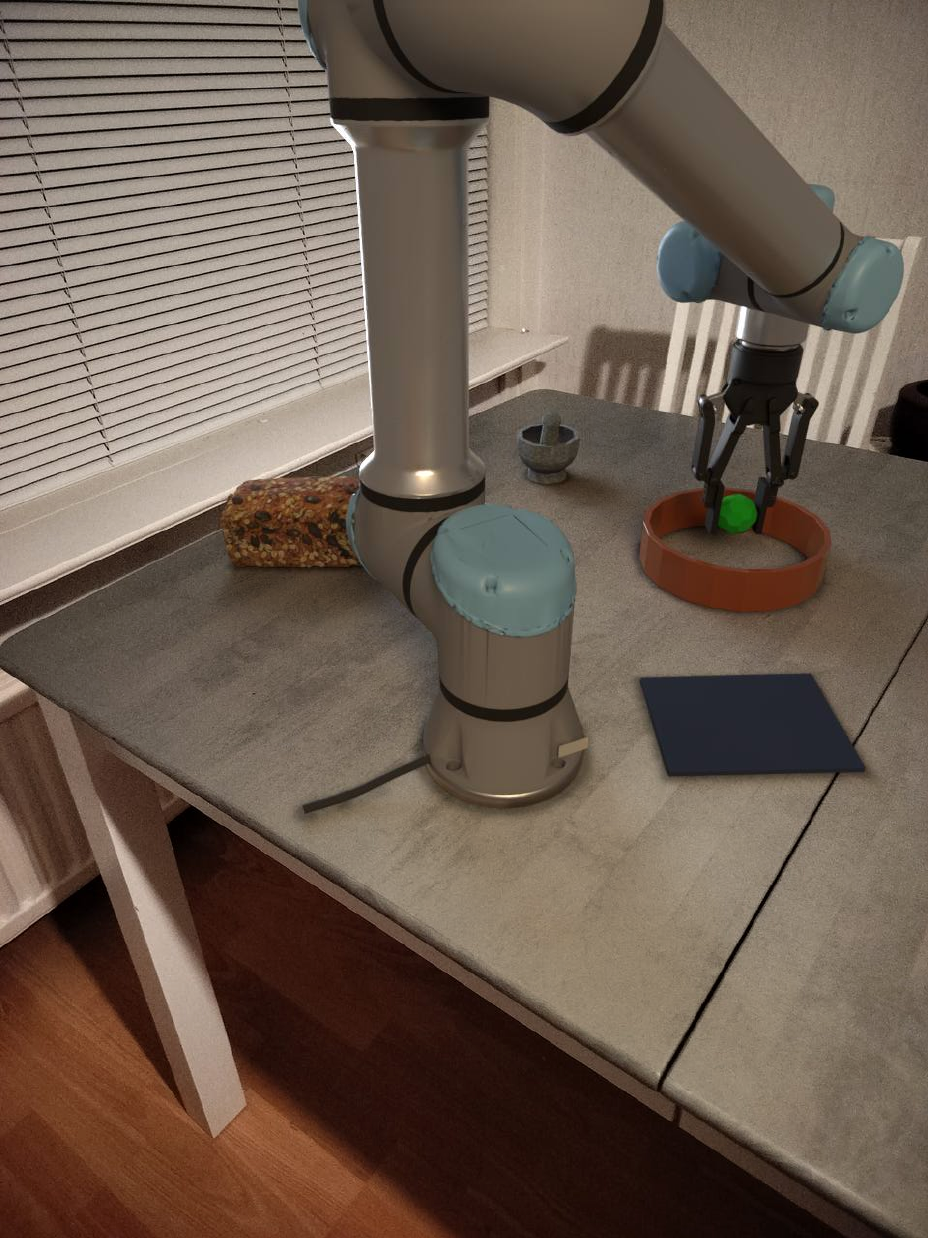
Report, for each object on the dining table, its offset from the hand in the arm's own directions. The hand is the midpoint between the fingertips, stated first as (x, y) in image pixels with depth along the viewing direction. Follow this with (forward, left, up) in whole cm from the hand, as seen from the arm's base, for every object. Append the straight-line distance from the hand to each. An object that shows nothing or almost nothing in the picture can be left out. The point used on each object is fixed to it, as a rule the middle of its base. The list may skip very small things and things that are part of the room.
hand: (732, 528), depth 104 cm
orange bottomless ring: (0, 0, -5) cm, 5 cm away
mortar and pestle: (-21, +28, -5) cm, 35 cm away
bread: (-56, +6, -5) cm, 56 cm away
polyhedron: (0, 0, -1) cm, 1 cm away
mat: (-7, -31, -5) cm, 32 cm away
